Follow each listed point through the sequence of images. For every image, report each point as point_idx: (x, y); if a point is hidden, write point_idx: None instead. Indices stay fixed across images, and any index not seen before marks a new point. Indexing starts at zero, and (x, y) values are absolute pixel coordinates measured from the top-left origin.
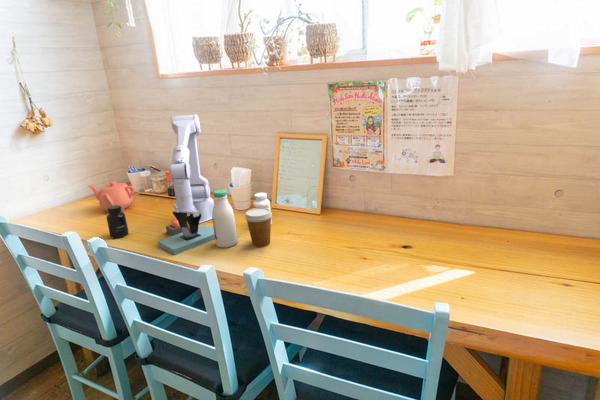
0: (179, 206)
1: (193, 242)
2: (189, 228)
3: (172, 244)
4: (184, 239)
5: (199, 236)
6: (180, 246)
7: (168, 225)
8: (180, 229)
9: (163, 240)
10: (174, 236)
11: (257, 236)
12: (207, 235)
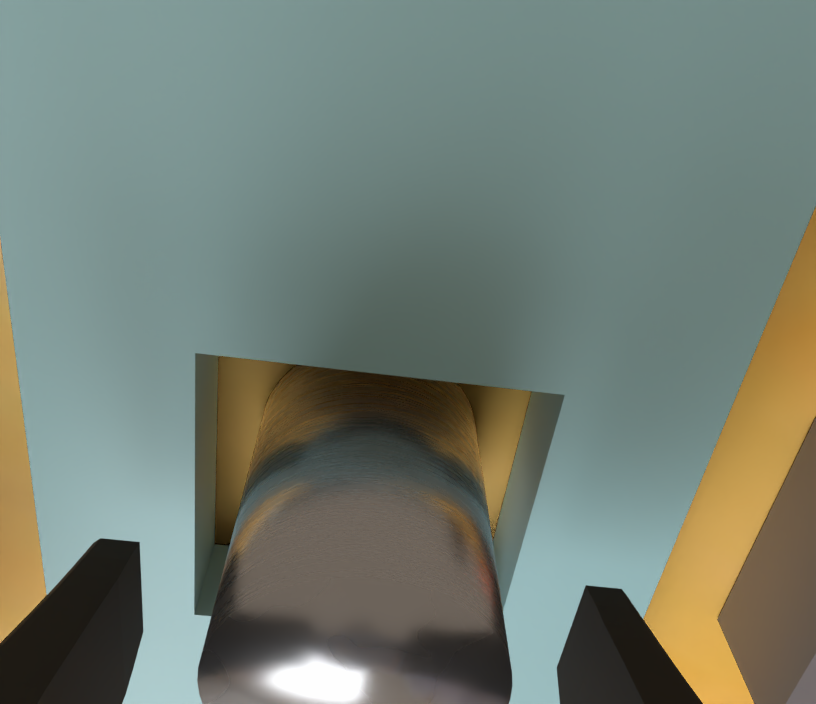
0: None
1: (20, 374)
2: (204, 646)
3: (319, 50)
4: (376, 388)
5: (191, 575)
6: (22, 81)
7: None
8: (806, 600)
9: (767, 90)
10: (673, 366)
11: None
12: None
